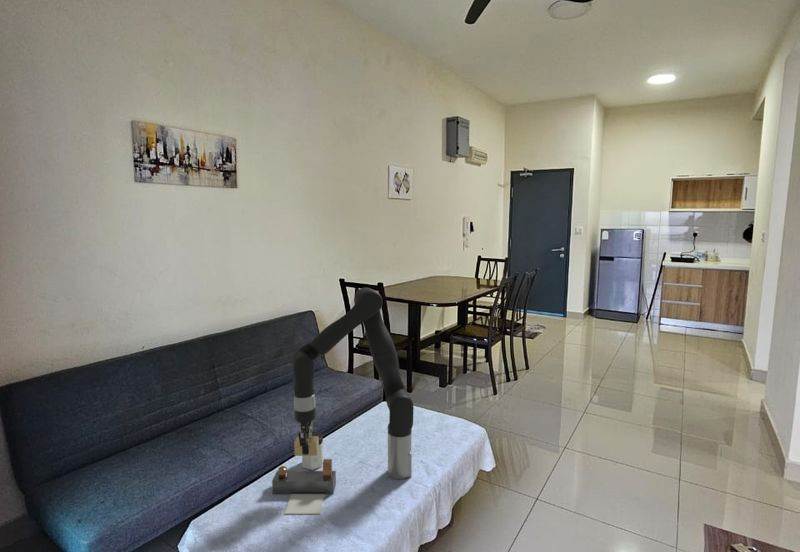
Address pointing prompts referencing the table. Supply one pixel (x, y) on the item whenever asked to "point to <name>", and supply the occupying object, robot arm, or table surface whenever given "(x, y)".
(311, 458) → the jar
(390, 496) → the table surface
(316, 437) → the lever cap
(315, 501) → the felt mat
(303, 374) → the robot arm
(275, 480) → the body
